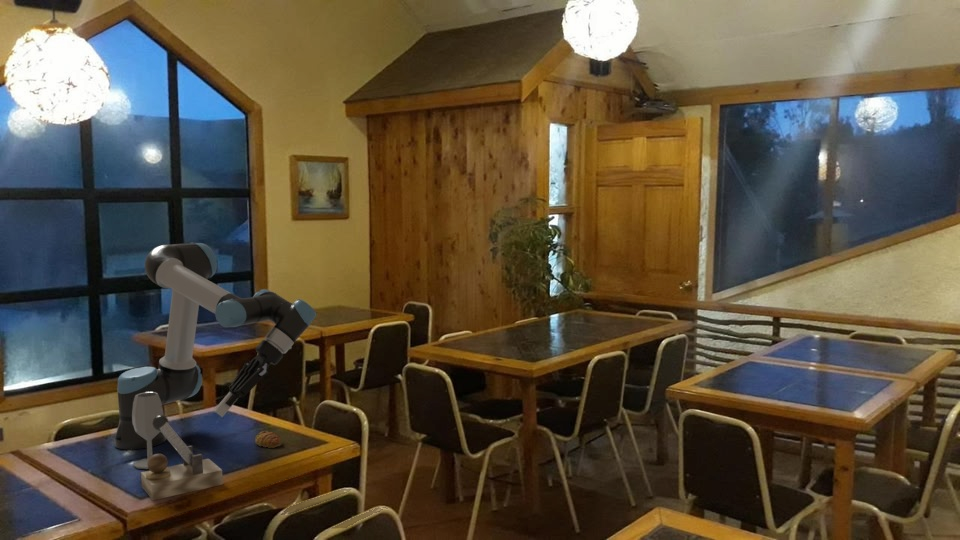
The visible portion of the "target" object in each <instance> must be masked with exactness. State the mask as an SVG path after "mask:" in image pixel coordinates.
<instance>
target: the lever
mask: <svg viewBox="0 0 960 540" xmlns="http://www.w3.org/2000/svg"><path fill="white" fill-rule="evenodd" d="M163 415H164V414H163ZM163 415H159V416H156V417H155V418H154V419H153V422H152V425H153V427H154V429H156V430H159V431H161V433H162V434H163V435H164V436H165V437H166V440H167V441H168V443H170V445H171V446H172V447H173V449H175V451H176V452H177V453H178V454H179V456H181V458H182V460H183V459H184V460H185V461H186V462H187V463H188V464H189V465H190V466H192V456H193V455H195V454H194V452H193V453H192V452H191V450H190V449H189V448H188V447H187V444H186V443H185V441H183V440H182V438H181V436H180V435H178V434H177V432H176V431H175V430H174V429H173V427H172V426H171V425H170V424H169V418H168V417H167V416H166V415H164V416H163Z"/></svg>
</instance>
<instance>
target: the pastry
mask: <svg viewBox="0 0 960 540" xmlns="http://www.w3.org/2000/svg"><path fill="white" fill-rule="evenodd" d="M254 443H255V444H256V445H257V446H259V447H261V446H263V447H262V448H266V447H268V448H267V449H274V448H277V447H281V446H282V444H283V441H282V439H281V437H280V435H278V434H277V433H275V432H272V431H270V432H269V431H267V430H262V431H260V432H258V434H257V435H256V436H255V438H254Z"/></svg>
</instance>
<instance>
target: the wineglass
mask: <svg viewBox="0 0 960 540" xmlns="http://www.w3.org/2000/svg"><path fill="white" fill-rule="evenodd" d="M159 415H163V416H165V415H164V409H163V405H162V404H161V400H160V397H159V395H158V393H156V392H145V393H140V394H137V395H135V398H134V402H133V409H132V423H133V426H134V429H135V432H136V433H137V434H138V435H140V436H141V437H143V438H144V439H145V440H147V448H146V454H147V455H146V456H147V458H141V459H139V460H137V461H135V462H133V467H135V468H136V469H140V470H141V469H142V470H149V469H148V466H147V463H148V460H149V458H150V457H151V456H152V455H153V446H152V439H153V438H154V437H155V436H156V435H157V434H158V433H159V432H161V431H159V430H156V429H154V427H153V425H152V422H153V419H154V418H155V417H156V416H159Z"/></svg>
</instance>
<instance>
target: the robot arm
mask: <svg viewBox="0 0 960 540" xmlns="http://www.w3.org/2000/svg"><path fill="white" fill-rule="evenodd" d="M144 260H145V261H144V271H145V274H146V276H147V277H148V278H149V279H150V281H152V282H153V283H155V285H157V286H159V287H161V288H164V289H171V290H172V292H171V293H172V294H171V300H170V309H169V316H168V317H169V318H168V323H167V324H168V326H167V334H166V342H165V343H166V344H165V350H164V351H165V352H164V356H162V357H161V358H160V359H159V361H158V366H157V367H158V369H157V368H156V367H154V366H142V367H135V368H132V369H128V370H126V371H124V372H123V373H121V374H119V376H118V378H117V388H116V390H117V391H116V392H117V398H118V399H117V400H118V414H119V422H118V426H117V428H116V432H115V436H114V447H115V448H116V449H120V450H140V449H147V440H145V439H144V438H143V437H141V436H140V435H138V434H137V433H136V432H135V429H134V426H133V423H132V409H133V402H134V398H135V395H137V394H140V393H145V392H156V393H158V395H159V397H160V400H161V404H162V406H163V405H166V404H171V403H174V402H178V401H185V400H187V399H189V398H191V397H194V396H195V395H196V394H197V393H199V391H200V389H201V388H202V387H201V386H202V383H203V374H202V373H201V368H200V366H199V365H197V361H196V360H195V359H194V358H193V356H194V355H193V354H194V347H195V339H196V331H197V325H198V324H197V323H198V317H199V307H200V306H201V307H202V308H204V309H205V310H206V311H207V310H208V311H209V312H211V313H212V314H214V316H215V319H216V321H217V322H218V324H219V326H221V327H223V328H237V327H241V326H245V325H251V324H256V323H263V322H267V321H269V322H272V323H273V324H275V325H274V326H272V328H271V329H270V330H269V331H268V332H267V334H266V335H265V336H264V339H265V340H264V339H263V340H261V341H260V343H258V345H257V346H256V347H255V351H256V353H257V355H256V356H254V358H252V359H251V360H246V361H245V362H244V364H243V367H242V368H241V369H240V371H239V372H238V373H237V375H236V376H235V378H234V379H233V380H232V381H231V384H229V386H228V389H229V391H228V393H226V395H225V396H224V398H223V399H222V400H221V401H220V402H219V403H218V404H217V406H216V407H215V408H214V410H213V412H215V414H218V415H219V416H220V417H221V418H223V417H224V416H225V415H226V413H227V412H228V411H229V410H230V409H231V408H232V407H233V405H234V404H235V403H236V402H237V401H238V399H240V398H245V396H246V395H248V394H249V393H250V392H251V390H253V389H254V387H255V386H256V385H257V384H258V383H259V382H261V380H263V379H264V378H265V377H266V376H268V374H269V371H268V368H269V367H270V365H274V366H277V365H278V364H279V362H280V361H281V360H282V359H283V357H284V354H287V352H288V351H289V350H292V348H293V347H292V346H293V345H294V344H295V343H296V341H297V340H298V339H299V337H300V336H302V335H303V333H304V332H305V331H306V330H307V329H308V328H309V327H310V325H311V324H312V322H313V320H315V318H316V316H317V312H316V310H315V309H314V308H313V306H311V304H309V303H307V302H306V301H304V300H303V299H299V298H298V299H296V300H295V301H294V302H293V303H292V302H290V301H288V300H287V299H285V298H284V297H282V296H280V295H279V294H277V293H276V292H274V291H272V290H269V289H266V288H263V289H260V290H259V291H257V292H256V293H255V294H254V295H253V296H251V297H244V298H242V297H239V296H238V295H236V294H233V293H232V292H230V291H228V290H226V289H225V288H223V287H221V286H219V285H218V284H216V283H214V282H213V281H210V280H208V279H211V278H212V277H213V276H214V275H215V274H216V272H217V270H218V269H217V267H218V262H217V257H216V254H215V253H214V251H213V249H212V248H211V247H210V246H209V245H208V244H205V243H202V242H189V243H175V244H162V245H158V246H156V247H154V248H153V249H151V251H150V252H149V253H148V254H147V255H146V257H145V259H144ZM166 440H167V439H166V437H165V436H164V435H163V434H162V433H161V432H159V433H158V434H157V435H156V436H155V437H154V438H153V439H152V447H156V446H158V445H161V444H163V443H164V442H166Z"/></svg>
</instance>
